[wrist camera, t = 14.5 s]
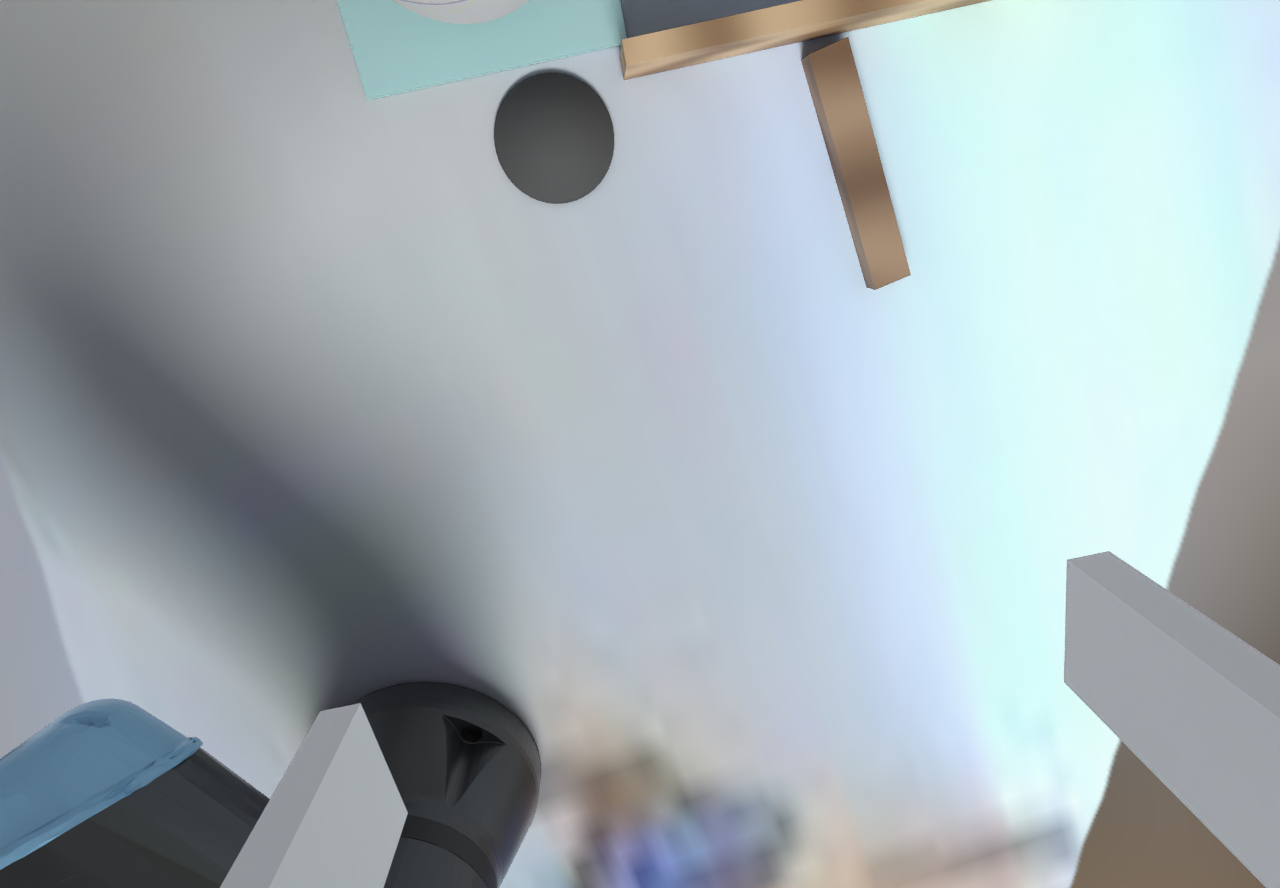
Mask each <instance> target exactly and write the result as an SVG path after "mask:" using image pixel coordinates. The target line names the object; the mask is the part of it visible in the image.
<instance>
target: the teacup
mask: <svg viewBox="0 0 1280 888" xmlns="http://www.w3.org/2000/svg"><path fill="white" fill-rule="evenodd" d="M392 1H394V2H395V3H397V4H399V5H401V6H402V7H404V8H406V9H408V10H410V11H412V12H414V13H417V14H419V15H421V16H424V17H427V18H430V19H433V20H436V21H440V22H445V23H452V24H476V23H484V22H488V21H491V20H495V19H498V18H501V17H503V16H505V15H507V14H509V13H511V12H513V11H515V10H517V9H518V8H520V7H521V6H523V5H524V4H526V3H527V2H528V1H529V0H392Z"/></svg>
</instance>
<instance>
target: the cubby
mask: <svg viewBox="0 0 1280 888" xmlns="http://www.w3.org/2000/svg"><path fill="white" fill-rule="evenodd" d="M986 1H990V0H801V1H796V2H792V3H787V4H783V5H778V6H773V7H769V8H764V9H760V10H755V11H750V12H746V13H741V14H737V15H732V16H728V17H723V18H718V19H714V20H709V21H705V22H700V23H695V24H691V25H686V26H682V27H677V28H673V29H668V30H663V31H659V32H654V33H650V34H645V35H640V36H636V37H631V38H627V39H622V42H621V51H620V61H621V66H622V72H623V77H624V80H626V79H631V78H636V77H640V76H645V75H649V74H654V73H659V72H663V71H668V70H672V69H677V68H682V67H686V66H691V65H696V64H700V63H705V62H709V61H714V60H719V59H723V58H728V57H732V56H737V55H742V54H746V53H751V52H755V51H760V50H765V49H769V48H774V47H778V46H783V45H788V44H792V43H797V42H801V41H806V40H811V39H815V38H820V37H824V36H829V35H834V34H838V33H843V32H847V31H852V30H857V29H861V28H866V27H871V26H875V25H880V24H884V23H889V22H894V21H898V20H903V19H907V18H912V17H917V16H921V15H926V14H930V13H935V12H940V11H944V10H949V9H953V8H958V7H963V6H967V5H972V4H976V3H981V2H986Z"/></svg>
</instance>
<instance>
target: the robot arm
mask: <svg viewBox="0 0 1280 888" xmlns="http://www.w3.org/2000/svg"><path fill="white" fill-rule="evenodd" d="M1064 682H1065V683H1066V684H1067V686H1068V687H1069V688H1070V689H1071V690H1072V691H1073V692H1074V693H1075V694H1076V695H1077V696H1078V697H1079V698H1080V699H1081V700H1082V701H1083V702H1084V703H1085V704H1086V705H1087V706H1088V707H1089V708H1090V709H1091V710H1092V711H1093V712H1094V713H1095V714H1096V715H1097V716H1098V717H1099V718H1100V719H1101V720H1102V721H1103V722H1104V723H1105V724H1106V725H1107V726H1108V727H1109V728H1110V729H1111V730H1112V731H1113V732H1114V733H1115V734H1116V735H1117V736H1118V737H1119V738H1120V739H1121V740H1122V741H1123V742H1124V743H1125V744H1126V745H1127V746H1128V747H1129V748H1130V750H1131V751H1132V752H1133V753H1134V754H1136V756H1138V758H1139V759H1140V760H1141V761H1142V762H1143V763H1144V764H1145V765H1146V766H1148V768H1149V769H1150V770H1151V771H1152V772H1153V773H1154V774H1155V775H1156V776H1157V777H1158V778H1159V779H1160V780H1161V781H1162V782H1163V783H1164V784H1165V785H1166V786H1167V787H1168V788H1169V789H1170V790H1171V791H1172V792H1173V793H1174V794H1175V795H1176V796H1177V797H1178V798H1179V799H1180V800H1181V801H1182V802H1183V803H1184V804H1185V805H1186V806H1187V807H1188V808H1189V809H1190V811H1191V812H1192V813H1194V814H1195V815H1196V816H1197V818H1198V819H1199V820H1200V821H1202V823H1203V824H1204V825H1205V826H1206V827H1207V828H1208V829H1209V830H1210V831H1211V832H1212V833H1213V834H1214V835H1215V836H1216V837H1217V838H1218V839H1219V840H1220V841H1221V842H1222V843H1223V844H1224V845H1225V846H1226V847H1227V848H1228V849H1229V850H1230V851H1231V852H1232V853H1233V854H1234V855H1235V856H1236V857H1237V858H1238V859H1239V860H1240V861H1241V862H1242V863H1243V864H1244V865H1245V866H1246V867H1247V868H1248V869H1249V870H1250V871H1251V872H1252V874H1253V875H1254V876H1255V877H1256V878H1257V879H1259V881H1260V882H1261V883H1262V884H1263V885H1264V886H1265V887H1266V888H1280V665H1278V664H1277V663H1275V662H1274V661H1272V660H1271V659H1270V658H1268V657H1266V656H1265V655H1264V654H1262V653H1260V652H1259V651H1258V650H1256V649H1255V648H1253V647H1251V646H1250V645H1249V644H1247V643H1245V642H1244V641H1242V640H1241V639H1240V638H1238V637H1236V636H1235V635H1234V634H1232V633H1231V632H1229V631H1227V630H1226V629H1225V628H1223V627H1221V626H1220V625H1219V624H1217V623H1215V622H1214V621H1213V620H1211V619H1209V618H1208V617H1207V616H1205V615H1204V614H1202V613H1200V612H1199V611H1198V610H1196V609H1195V608H1193V607H1191V606H1190V605H1189V604H1187V603H1185V602H1184V601H1183V600H1181V599H1179V598H1178V597H1177V596H1175V595H1174V594H1172V593H1171V592H1169V591H1168V590H1166V589H1165V588H1163V587H1162V586H1160V585H1159V584H1157V583H1156V582H1154V581H1153V580H1151V579H1150V578H1148V577H1147V576H1145V575H1144V574H1142V573H1141V572H1139V571H1138V570H1136V569H1135V568H1133V567H1132V566H1130V565H1129V564H1127V563H1126V562H1124V561H1123V560H1121V559H1120V558H1118V557H1117V556H1115V555H1114V554H1112V553H1111V552H1109V551H1108V552H1103V553H1098V554H1093V555H1089V556H1084V557H1079V558H1074V559H1069V560H1067V580H1066V621H1065V662H1064ZM202 744H203V742H202V741H201V740H200V739H198V738H197V737H189V738H187V737H186V736H184V735H183V734H181V733H179V732H178V731H176V730H175V729H173V728H172V727H170V726H169V725H167V724H165V723H164V722H162V721H161V720H159V719H158V718H156V717H154V716H153V715H151V714H150V713H148V712H147V711H145V710H143V709H142V708H140V707H139V706H137V705H135V704H133V703H131V702H128V701H124V700H119V699H101V700H96V701H91V702H88V703H85V704H82V705H79V706H77V707H75V708H74V709H71V710H70V711H68V712H66V713H65V714H63V715H62V716H60V717H59V718H57V719H56V720H54V721H53V722H51V723H50V724H48V725H47V726H46V727H44V728H43V729H41V730H40V731H38V732H37V733H36V734H34V735H33V736H31V737H30V738H29V739H27V740H26V741H24V742H23V743H22V744H20V745H19V746H17V747H16V748H15V749H13V750H12V751H10V752H9V753H8V754H6V755H5V756H3V757H2V758H1V759H0V888H499V887H500V885H501V883H502V881H503V879H504V877H505V875H506V873H507V871H508V869H509V867H510V865H511V863H512V861H513V859H514V857H515V855H516V853H517V851H518V849H519V847H520V845H521V843H522V841H523V839H524V837H525V835H526V833H527V831H528V829H529V827H530V825H531V823H532V821H533V818H534V815H535V812H536V808H537V804H538V796H539V787H540V778H541V764H540V758H539V754H538V750H537V748H536V745H535V743H534V741H533V739H532V737H531V735H530V733H529V732H528V730H527V729H526V728H525V726H524V725H523V724H522V723H521V722H520V720H519V719H518V718H517V717H516V716H515V715H513V714H512V713H511V712H510V711H509V710H507V709H506V708H505V707H503V706H502V705H500V704H499V703H497V702H496V701H494V700H492V699H490V698H489V697H486V696H484V695H482V694H480V693H477V692H475V691H472V690H469V689H466V688H462V687H458V686H453V685H448V684H441V683H410V684H403V685H397V686H393V687H389V688H386V689H382V690H380V691H377V692H374V693H372V694H370V695H368V696H366V697H364V698H362V699H360V700H359V701H357V702H356V703H354V704H353V705H348V706H343V707H338V708H333V709H328V710H324V711H320V712H319V714H318V716H317V718H316V719H315V721H314V723H313V725H312V726H311V728H310V730H309V732H308V733H307V735H306V737H305V739H304V740H303V742H302V744H301V746H300V747H299V749H298V751H297V753H296V755H295V756H294V758H293V760H292V762H291V763H290V765H289V767H288V769H287V770H286V772H285V774H284V776H283V777H282V779H281V781H280V783H279V784H278V786H277V788H276V790H275V791H274V793H273V795H272V797H271V799H269V798H268V797H266V796H265V795H264V794H262V793H261V792H260V791H258V790H257V789H256V788H254V787H253V786H251V785H250V784H249V783H247V782H246V781H245V780H243V779H242V778H241V777H239V776H238V775H237V774H235V773H234V772H233V771H231V770H230V769H229V768H227V767H226V766H225V765H223V764H222V763H221V762H219V761H218V760H217V759H215V758H214V757H213V756H211V755H210V754H209V753H207V752H206V751H205V750H203V749H202V748H201V746H202Z"/></svg>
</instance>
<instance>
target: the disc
mask: <svg viewBox="0 0 1280 888" xmlns="http://www.w3.org/2000/svg"><path fill="white" fill-rule="evenodd" d="M494 140H495V148H496V153H497V156H498V159H499V162H500V164H501V166H502V169H503V170H504V172H505V174H506V175H507V177H508V178H509V179H510V180H511V182H512V183H513V184H514V185H515V186H516V187H517V188H518V189H519V190H521V191H522V192H523V193H525V194H526V195H528V196H530V197H532V198H534V199H536V200H539V201H543V202H546V203H554V204H557V203H568V202H572V201H575V200H578V199H580V198H582V197H584V196H586V195H587V194H589V193H590V192H591V191H592V190H594V189H595V188H596V187H597V186H598V185H599V183H600V182H601V181H602V179H603V178H604V176H605V175H606V173H607V171H608V169H609V166H610V163H611V160H612V156H613V150H614V133H613V126H612V122H611V119H610V116H609V114H608V111H607V109H606V107H605V105H604V104H603V102H602V101H601V99H600V98H599V96H598V95H597V94H596V93H595V92H594V91H593V90H592V89H591V88H590V87H588V86H587V85H586V84H585V83H583V82H581V81H580V80H578V79H576V78H574V77H571V76H568V75H565V74H560V73H543V74H538V75H535V76H532V77H529V78H527V79H525V80H523V81H522V82H520V83H519V84H518V85H516V86H515V87H514V88H513V89H512V90H511V91H510V92H509V94H508V95H507V96H506V98H505V99H504V101H503V102H502V104H501V107H500V109H499V111H498V114H497V118H496V122H495V130H494Z"/></svg>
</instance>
